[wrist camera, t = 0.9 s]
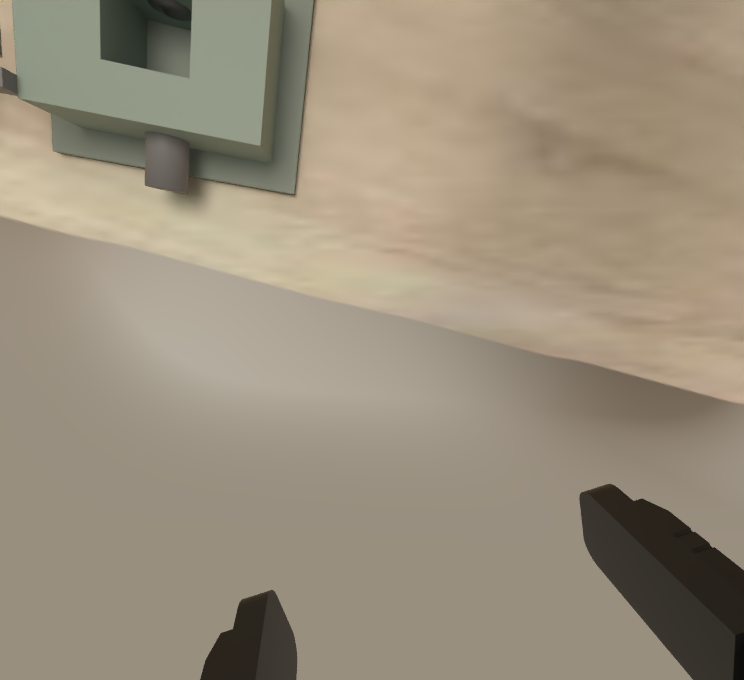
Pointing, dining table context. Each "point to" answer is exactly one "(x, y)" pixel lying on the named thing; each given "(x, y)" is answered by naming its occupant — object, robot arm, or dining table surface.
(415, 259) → the dining table surface
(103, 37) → the grey-green knobbed device
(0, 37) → the bar
